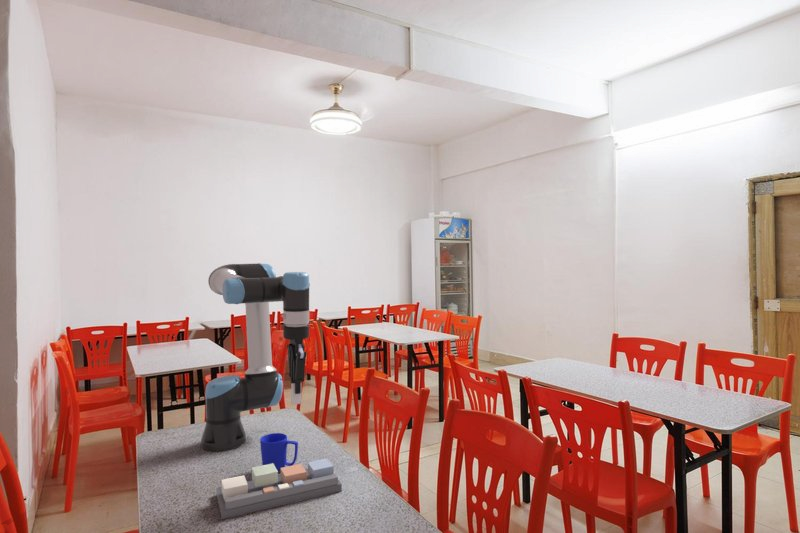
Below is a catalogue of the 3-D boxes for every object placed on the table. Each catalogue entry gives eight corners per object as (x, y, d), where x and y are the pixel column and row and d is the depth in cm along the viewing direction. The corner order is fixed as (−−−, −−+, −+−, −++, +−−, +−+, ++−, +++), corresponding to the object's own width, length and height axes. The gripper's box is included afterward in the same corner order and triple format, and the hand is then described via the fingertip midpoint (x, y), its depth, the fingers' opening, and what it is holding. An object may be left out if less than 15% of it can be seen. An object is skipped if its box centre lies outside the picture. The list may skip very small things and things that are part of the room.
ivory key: (221, 490, 130) (221, 479, 130) (244, 485, 133) (244, 475, 133) (224, 500, 125) (223, 489, 125) (247, 495, 127) (247, 484, 127)
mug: (292, 477, 144) (291, 444, 143) (255, 474, 146) (255, 441, 146) (303, 465, 152) (302, 434, 152) (268, 462, 154) (267, 432, 154)
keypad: (216, 495, 133) (216, 479, 133) (326, 471, 147) (326, 457, 147) (221, 519, 121) (221, 502, 121) (341, 490, 135) (341, 475, 135)
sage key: (251, 478, 134) (251, 467, 134) (273, 473, 136) (273, 463, 136) (255, 487, 128) (255, 476, 128) (277, 482, 131) (277, 471, 131)
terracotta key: (280, 478, 137) (280, 467, 137) (301, 473, 140) (301, 463, 140) (285, 487, 132) (285, 476, 132) (306, 482, 134) (306, 471, 134)
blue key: (307, 472, 141) (307, 462, 141) (327, 468, 143) (327, 458, 143) (313, 480, 135) (313, 470, 135) (333, 476, 138) (333, 466, 138)
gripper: (278, 322, 144) (278, 398, 145) (289, 329, 133) (289, 412, 134) (302, 320, 148) (302, 395, 149) (315, 327, 136) (315, 408, 137)
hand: (296, 403), depth 141 cm, fingers closed
